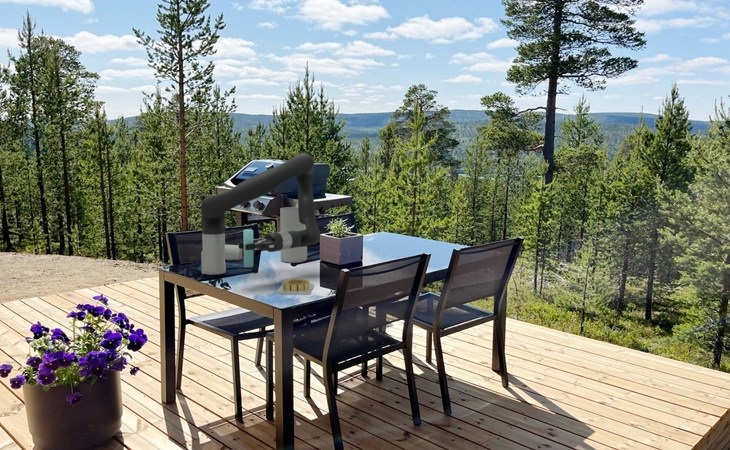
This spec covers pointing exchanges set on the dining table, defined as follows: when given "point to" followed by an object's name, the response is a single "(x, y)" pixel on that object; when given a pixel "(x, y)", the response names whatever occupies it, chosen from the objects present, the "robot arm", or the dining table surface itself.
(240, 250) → the ceramic mug
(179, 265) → the dining table surface
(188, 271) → the dining table surface
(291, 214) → the cylinder vase
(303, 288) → the golden segmented cake
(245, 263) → the pin
